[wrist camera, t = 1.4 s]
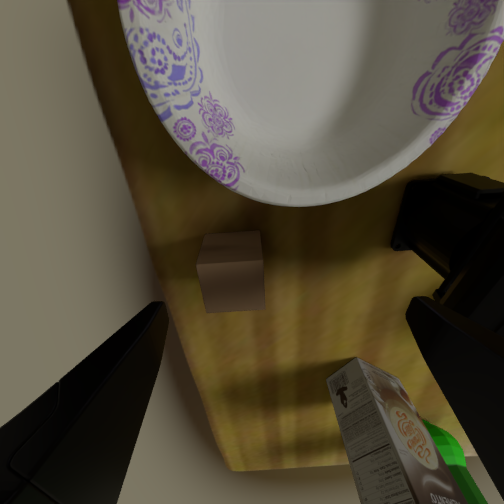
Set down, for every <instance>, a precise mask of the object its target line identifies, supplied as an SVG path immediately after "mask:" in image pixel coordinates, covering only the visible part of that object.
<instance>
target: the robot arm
mask: <svg viewBox="0 0 504 504" xmlns="http://www.w3.org/2000/svg"><path fill="white" fill-rule="evenodd" d="M414 185H416V186H415V188H414V189H412V187H413V186H414ZM397 244H398V246H396V245H397ZM395 246H396V247H395ZM391 248H392V249H393V250H394V251H404V250H412V251H413V252H415V253H416V254H417V255H418V256H419V257H420V258H421V259H423V260H424V261H425V262H426V263H427V264H428V265H429V266H430V267H432V268H433V269H434V270H435V271H436V272H437V273H438V274H440V275H441V276H442V277H443V278H444V279H445V280H444V281H443V283H442V284H441V286H440V287H439V289H436V290H435V292H434V293H433V295H432V296H433V298H434V300H435V301H434V300H432V299H430V298H429V297H426V296H416V297H413V298H412V300H411V302H410V304H409V306H408V309H407V311H406V314H405V315H406V320H407V322H408V325H409V327H410V329H411V331H412V334H413V336H414V338H415V340H416V343H417V345H418V347H419V349H420V352H421V354H422V356H423V358H424V360H425V362H426V364H427V366H428V367H429V369H430V371H431V373H432V374H433V376H434V378H435V380H436V382H437V383H438V385H439V387H440V389H441V390H442V392H443V394H444V396H445V398H446V399H447V401H448V403H449V405H450V406H451V408H452V410H453V412H454V413H455V415H456V417H457V419H458V421H459V422H460V424H461V426H462V428H463V429H464V431H465V433H466V435H467V437H468V438H469V440H470V442H471V444H472V445H473V447H474V449H475V451H476V453H477V454H478V456H479V458H480V460H481V461H482V463H483V465H484V467H485V468H486V470H487V472H488V474H489V476H490V477H491V479H492V481H493V483H494V484H495V486H496V488H497V490H498V492H499V493H500V495H501V497H502V499H503V501H504V183H503V182H499V181H496V180H493V179H490V178H489V177H486V176H480V175H477V174H473V173H462V174H447V175H440V176H438V177H437V179H426V180H413V181H411V182H409V183H408V184H407V186H406V190H405V193H404V197H403V201H402V204H401V208H400V212H399V215H398V219H397V223H396V226H395V230H394V234H393V237H392V241H391ZM168 324H169V317H168V313H167V309H166V305H165V303H164V302H163V301H154V302H151V303H150V304H149V305H147V306H146V307H145V308H144V309H143V310H141V311H140V312H139V313H138V314H137V315H135V316H134V317H133V318H132V319H131V320H130V321H128V322H127V323H126V324H125V325H124V326H122V327H121V328H120V329H119V330H118V331H117V332H116V333H114V334H113V335H112V336H111V337H109V338H108V339H107V340H106V341H105V342H104V343H102V344H101V345H100V346H99V347H98V348H97V349H95V350H94V351H93V352H92V353H91V354H90V355H88V356H87V357H86V358H85V359H83V360H82V361H81V362H80V363H79V364H78V365H76V366H75V367H74V368H73V369H72V370H71V371H70V372H68V373H67V374H66V375H65V376H63V377H62V378H61V379H60V380H59V382H56V383H55V384H54V385H53V386H52V387H50V388H49V389H48V390H47V391H46V392H44V393H43V394H42V395H41V396H40V397H38V398H37V399H36V400H35V401H33V402H32V403H31V404H30V405H29V406H27V407H26V408H25V409H24V410H22V411H21V412H20V413H19V414H17V415H16V416H15V417H13V418H12V419H11V420H10V421H9V422H7V423H6V424H4V425H3V426H2V427H0V504H117V501H118V498H119V495H120V491H121V488H122V485H123V482H124V479H125V476H126V472H127V469H128V466H129V463H130V460H131V457H132V453H133V450H134V447H135V444H136V441H137V438H138V435H139V431H140V428H141V425H142V422H143V419H144V415H145V412H146V409H147V406H148V403H149V400H150V397H151V394H152V390H153V387H154V384H155V381H156V378H157V375H158V371H159V368H160V364H161V360H162V355H163V350H164V345H165V340H166V335H167V330H168Z"/></svg>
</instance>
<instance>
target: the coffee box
mask: <svg viewBox="0 0 504 504" xmlns="http://www.w3.org/2000/svg"><path fill="white" fill-rule="evenodd" d="M326 381H327V385H328V389H329V392H330V396H331V399H332V403H333V407H334V410H335V414H336V417H337V421H338V424H339V428H340V431H341V435H342V438H343V442H344V446H345V449H346V453H347V456H348V460H349V463H350V467H351V470H352V474H353V477H354V481H355V484H356V488H357V491H358V495H359V499H360V502H361V504H468V502H467V501H466V499H465V497H464V495H463V493H462V492H461V490H460V488H459V486H458V484H457V482H456V481H455V479H454V477H453V475H452V474H451V472H450V470H449V468H448V466H447V464H446V463H445V461H444V459H443V457H442V455H441V454H440V452H439V450H438V448H437V446H436V445H435V443H434V441H433V439H432V437H431V436H430V434H429V432H428V430H427V428H426V427H425V425H424V423H423V421H422V420H421V418H420V416H419V414H418V412H417V410H416V409H415V407H414V405H413V403H412V401H411V400H410V398H409V396H408V394H407V392H406V391H405V389H404V387H403V385H402V384H401V382H400V380H399V379H398V378H397V377H395V376H393V375H391V374H389V373H387V372H385V371H383V370H381V369H379V368H377V367H375V366H373V365H371V364H369V363H367V362H365V361H363V360H361V359H359V358H354V359H353V360H352V361H350V362H349V363H347V364H346V365H345V366H343V367H342V368H341V369H339V370H338V371H337V372H335V373H334V374H333V375H331V376H330V377H328V378H327V379H326Z"/></svg>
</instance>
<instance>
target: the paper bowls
mask: <svg viewBox="0 0 504 504" xmlns="http://www.w3.org/2000/svg"><path fill="white" fill-rule="evenodd" d="M117 2H118V8H119V14H120V19H121V23H122V28H123V31H124V35H125V40H126V42H127V47H128V49H129V52H130V55H131V59H132V62H133V64H134V67H135V70H136V72H137V74H138V77H139V79H140V82H141V84H142V87H143V89H144V91H145V93H146V95H147V97H148V100H149V102H150V104H151V105H152V107H153V109H154V111H155V112H156V114H157V116H158V117H159V119H160V121H161V123H162V124H163V125H164V127H165V128H166V130H167V131H168V133H169V134H170V136H171V137H172V138H173V140H174V141H175V142H176V144H177V145H178V146H179V147H180V148H181V150H182V151H183V152H184V153H185V154H186V155H187V156H188V157H189V158H190V159H191V160H192V161H193V162H194V163H195V164H196V165H197V166H198V167H199V168H201V169H202V170H203V171H204V172H205V173H207V174H208V175H209V176H210V177H212V178H213V179H215V180H216V181H217V182H218V183H220V184H222V185H223V186H225V187H226V188H228V189H230V190H232V191H233V192H235V193H238V194H240V195H243V196H245V197H247V198H250V199H253V200H255V201H259V202H262V203H266V204H271V205H278V206H289V207H307V206H317V205H324V204H329V203H333V202H337V201H341V200H344V199H347V198H350V197H353V196H356V195H358V194H360V193H363V192H366V191H367V190H369V189H371V188H373V187H375V186H377V185H379V184H381V183H382V182H383V181H385V180H387V179H389V178H391V177H392V176H393V175H395V174H396V173H397V172H399V171H401V170H402V169H403V168H405V167H407V166H408V165H409V164H410V163H411V162H412V161H414V160H415V159H416V158H418V157H419V156H420V155H421V154H422V153H423V152H424V151H425V150H426V149H427V148H428V147H430V146H431V145H432V144H433V142H434V141H435V140H436V139H437V138H438V137H439V136H440V135H441V134H442V133H444V131H445V130H446V128H447V127H448V126H449V125H450V124H451V122H452V121H453V120H454V119H455V118H456V117H457V115H458V114H459V112H460V111H461V110H462V108H463V107H464V106H465V105H466V104H467V102H468V101H469V99H470V97H471V96H472V94H473V93H474V91H475V90H476V89H477V87H478V85H479V84H480V83H481V81H482V79H483V78H484V77H485V75H486V74H487V71H488V69H489V67H490V65H491V63H492V61H493V60H494V58H495V57H496V55H497V53H498V50H499V48H500V45H501V43H502V42H503V40H504V0H117Z"/></svg>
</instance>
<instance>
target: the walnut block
mask: <svg viewBox="0 0 504 504" xmlns="http://www.w3.org/2000/svg"><path fill="white" fill-rule="evenodd" d="M196 268H197V273H198V277H199V282H200V286H201V290H202V295H203V299H204V304H205V308H206V313H216V312H232V311H247V310H263V309H265V289H264V268H263V255H262V246H261V237H260V230H257V231H242V232H227V233H212V234H205V236H204V239H203V242H202V246H201V249H200V252H199V255H198V259H197V262H196Z"/></svg>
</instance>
